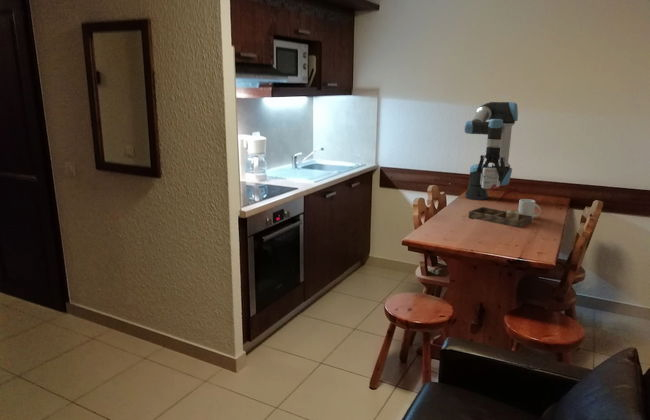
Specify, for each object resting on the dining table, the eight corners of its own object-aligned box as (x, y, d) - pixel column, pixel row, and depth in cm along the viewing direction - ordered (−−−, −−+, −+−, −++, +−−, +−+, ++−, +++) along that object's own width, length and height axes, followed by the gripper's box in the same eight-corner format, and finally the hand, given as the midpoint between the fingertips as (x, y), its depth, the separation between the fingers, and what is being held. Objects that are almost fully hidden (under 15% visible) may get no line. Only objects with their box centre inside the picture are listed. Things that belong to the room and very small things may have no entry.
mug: (537, 222, 272) (539, 203, 269) (515, 218, 279) (517, 200, 276) (541, 219, 279) (543, 201, 276) (519, 215, 285) (521, 198, 283)
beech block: (505, 222, 268) (506, 212, 267) (507, 220, 273) (508, 209, 272) (516, 224, 265) (517, 213, 264) (518, 221, 270) (519, 211, 269)
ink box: (495, 187, 281) (498, 167, 278) (497, 189, 276) (500, 168, 273) (480, 187, 282) (482, 167, 279) (482, 188, 277) (484, 168, 274)
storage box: (468, 217, 279) (469, 211, 278) (481, 213, 290) (482, 206, 289) (519, 228, 259) (520, 221, 258) (531, 223, 270) (532, 216, 269)
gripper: (472, 145, 278) (469, 183, 283) (509, 148, 263) (504, 188, 268) (478, 144, 283) (475, 182, 289) (515, 147, 268) (510, 187, 273)
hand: (489, 185), depth 278 cm, fingers closed on ink box, 9 cm apart
